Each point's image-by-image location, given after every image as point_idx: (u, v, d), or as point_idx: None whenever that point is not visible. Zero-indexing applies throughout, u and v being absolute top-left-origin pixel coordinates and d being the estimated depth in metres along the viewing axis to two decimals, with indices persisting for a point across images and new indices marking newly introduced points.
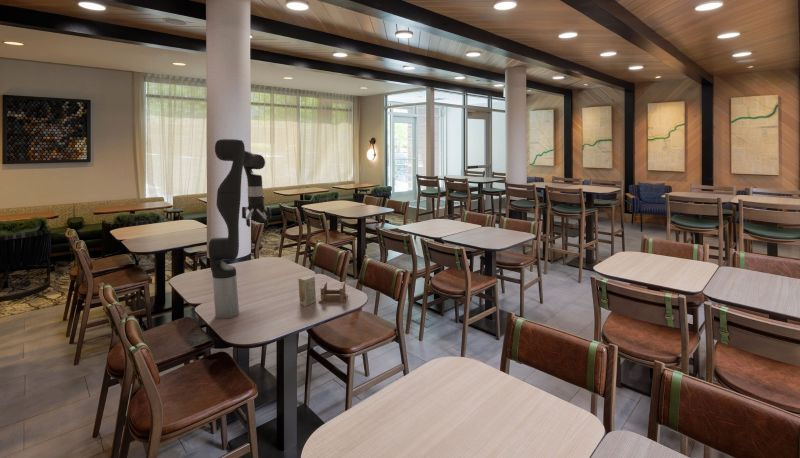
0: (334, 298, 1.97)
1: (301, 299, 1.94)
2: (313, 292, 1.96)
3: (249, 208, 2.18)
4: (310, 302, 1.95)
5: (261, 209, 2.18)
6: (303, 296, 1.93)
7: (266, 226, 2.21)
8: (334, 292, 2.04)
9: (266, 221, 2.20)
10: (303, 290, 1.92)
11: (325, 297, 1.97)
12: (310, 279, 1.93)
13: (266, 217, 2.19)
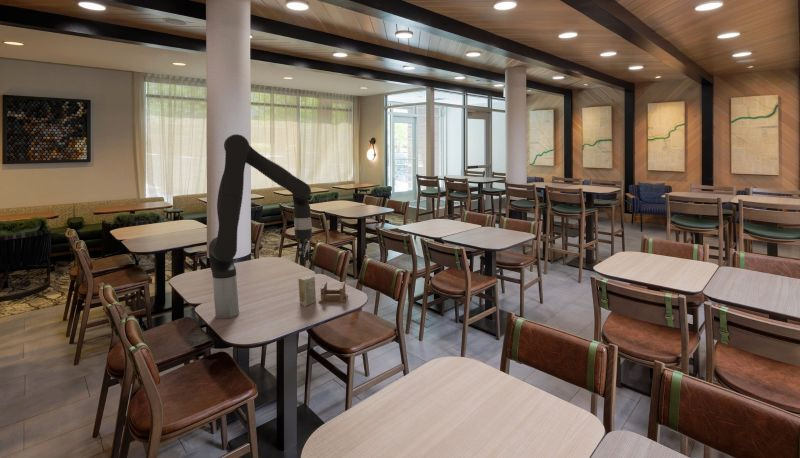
0: (334, 298, 1.97)
1: (301, 299, 1.94)
2: (313, 292, 1.96)
3: (304, 243, 1.89)
4: (310, 302, 1.95)
5: None
6: (303, 296, 1.93)
7: (306, 259, 1.99)
8: (334, 292, 2.04)
9: None
10: (303, 290, 1.92)
11: (325, 297, 1.97)
12: (310, 279, 1.93)
13: None
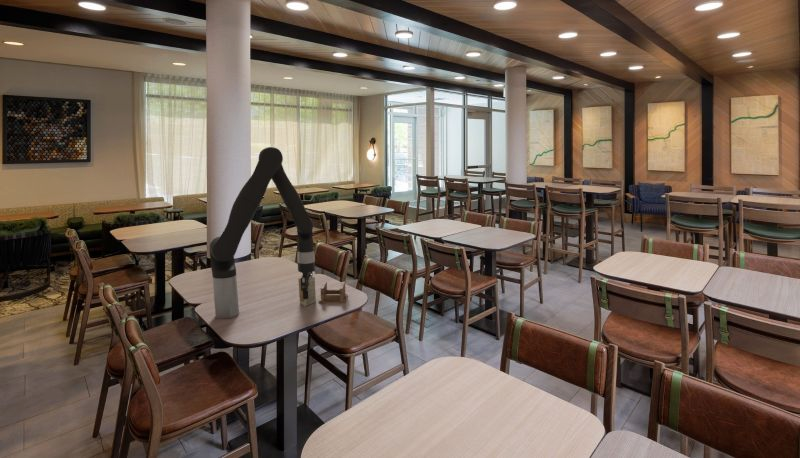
0: (334, 298, 1.97)
1: (301, 299, 1.94)
2: (313, 292, 1.96)
3: (307, 277, 1.91)
4: (310, 302, 1.95)
5: (310, 274, 1.97)
6: None
7: None
8: (334, 292, 2.04)
9: None
10: None
11: (325, 297, 1.97)
12: None
13: None
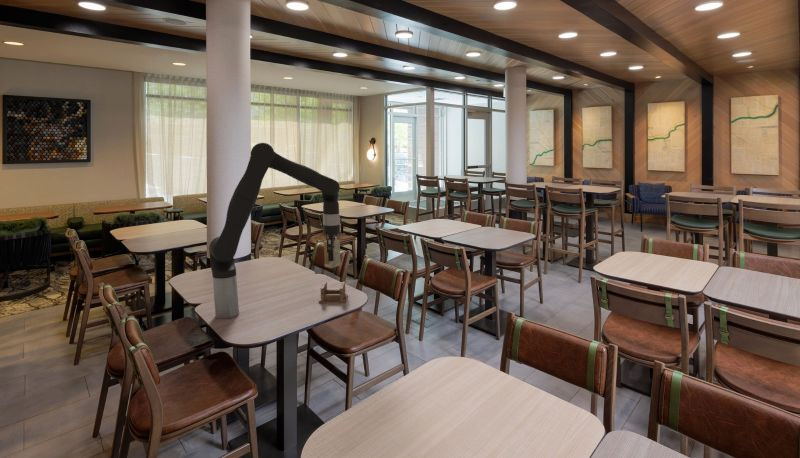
0: (334, 298, 1.97)
1: (327, 261, 1.96)
2: (338, 255, 1.97)
3: (333, 239, 1.93)
4: (335, 265, 1.97)
5: None
6: None
7: None
8: (334, 292, 2.04)
9: None
10: None
11: (325, 297, 1.97)
12: (335, 242, 1.95)
13: None
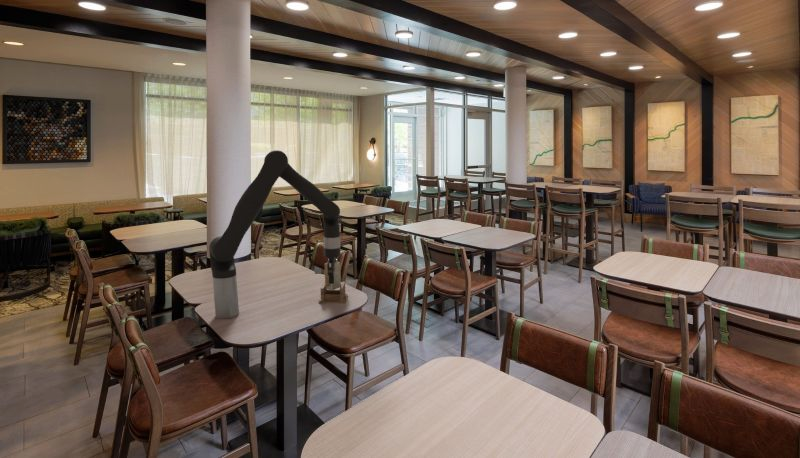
0: (334, 298, 1.97)
1: (327, 283, 1.98)
2: (338, 277, 1.99)
3: (333, 262, 1.95)
4: (335, 287, 1.99)
5: (335, 259, 2.01)
6: None
7: None
8: (334, 292, 2.04)
9: None
10: None
11: (325, 297, 1.97)
12: (336, 264, 1.97)
13: None
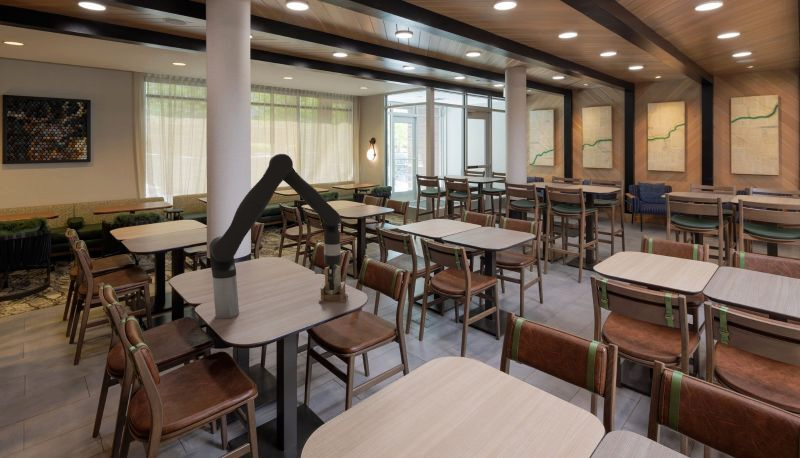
0: (334, 298, 1.97)
1: (327, 288, 1.98)
2: (338, 281, 2.00)
3: (334, 269, 1.95)
4: (336, 291, 1.99)
5: None
6: None
7: None
8: None
9: None
10: None
11: (325, 297, 1.97)
12: None
13: None
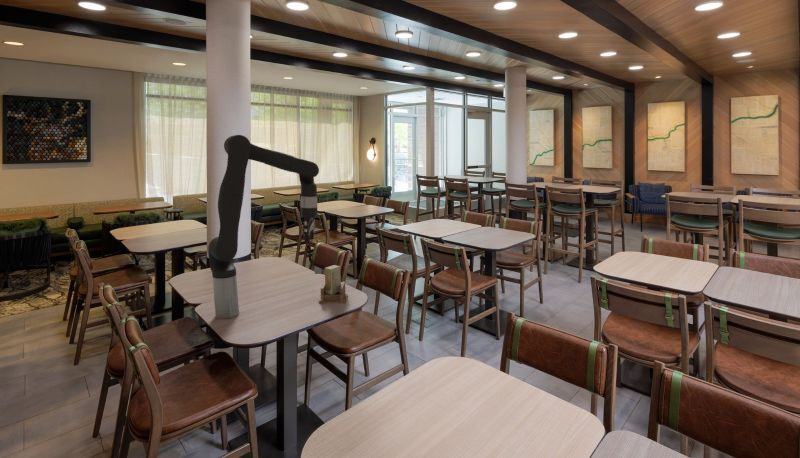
0: (334, 298, 1.97)
1: (327, 288, 1.98)
2: (338, 281, 2.00)
3: (309, 221, 1.93)
4: (336, 291, 1.99)
5: (312, 220, 1.99)
6: (329, 285, 1.97)
7: None
8: None
9: None
10: (329, 279, 1.96)
11: (325, 297, 1.97)
12: (336, 268, 1.97)
13: None
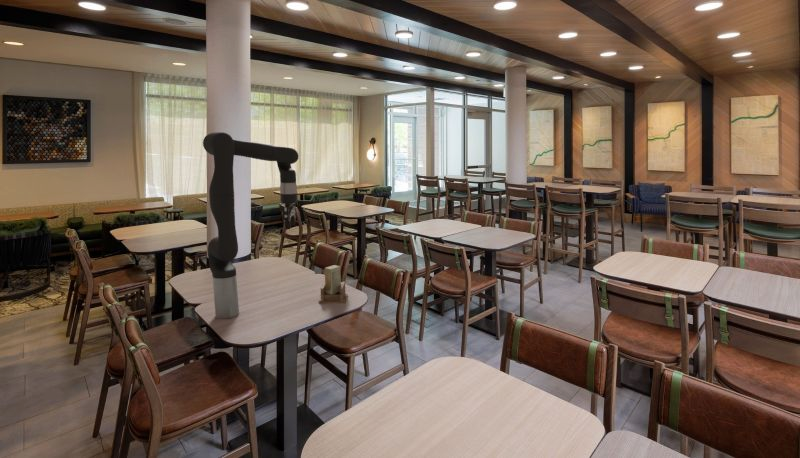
0: (334, 298, 1.97)
1: (327, 288, 1.98)
2: (338, 281, 2.00)
3: (290, 208, 1.95)
4: (336, 291, 1.99)
5: (293, 207, 2.01)
6: (329, 285, 1.97)
7: None
8: None
9: None
10: (329, 279, 1.96)
11: (325, 297, 1.97)
12: (336, 268, 1.97)
13: None
